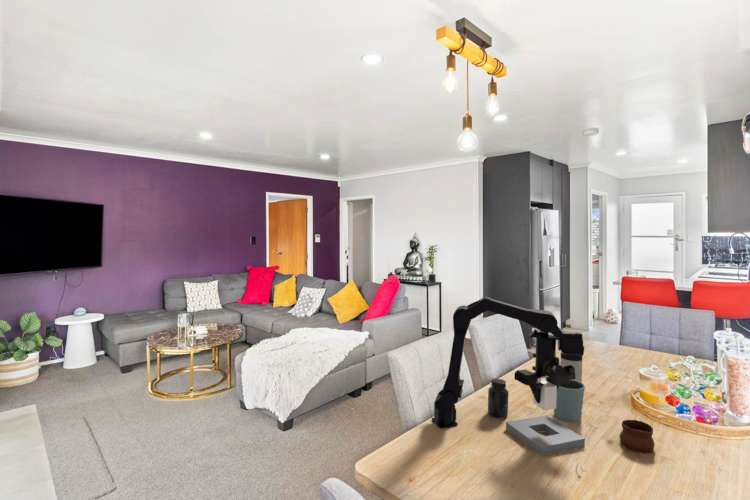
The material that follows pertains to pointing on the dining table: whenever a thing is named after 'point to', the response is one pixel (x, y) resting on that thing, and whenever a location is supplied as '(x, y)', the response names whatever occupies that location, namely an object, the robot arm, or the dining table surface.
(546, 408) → the plug
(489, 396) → the supplement bottle
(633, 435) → the ceramic pot
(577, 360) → the travel mug
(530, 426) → the socket
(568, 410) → the teal cup
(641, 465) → the dining table surface
